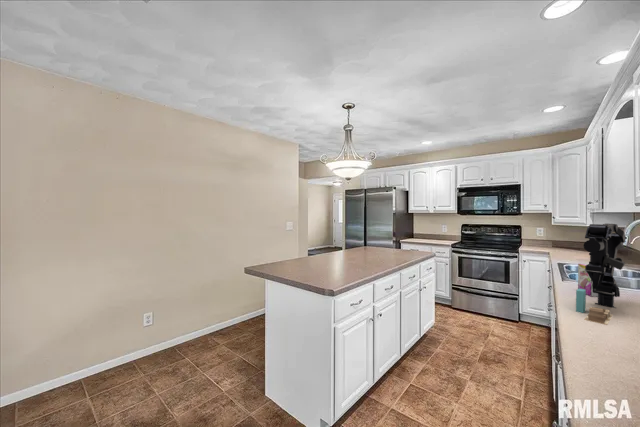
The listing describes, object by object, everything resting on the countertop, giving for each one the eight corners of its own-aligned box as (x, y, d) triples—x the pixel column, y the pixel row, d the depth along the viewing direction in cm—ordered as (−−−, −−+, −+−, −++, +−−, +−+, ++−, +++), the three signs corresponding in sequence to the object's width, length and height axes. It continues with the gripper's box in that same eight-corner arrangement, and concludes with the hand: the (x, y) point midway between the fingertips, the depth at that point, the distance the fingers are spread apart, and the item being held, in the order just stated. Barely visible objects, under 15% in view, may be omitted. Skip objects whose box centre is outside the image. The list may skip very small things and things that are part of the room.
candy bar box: (577, 291, 168) (577, 263, 168) (587, 291, 167) (587, 263, 167) (590, 296, 157) (591, 267, 157) (601, 297, 156) (601, 267, 156)
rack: (591, 312, 133) (591, 305, 133) (612, 317, 127) (612, 309, 127) (583, 322, 121) (584, 313, 121) (607, 327, 116) (607, 318, 116)
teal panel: (578, 311, 135) (578, 288, 134) (585, 313, 133) (585, 289, 132) (575, 314, 131) (576, 290, 131) (583, 315, 129) (583, 291, 129)
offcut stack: (589, 316, 125) (589, 306, 125) (605, 320, 121) (605, 310, 121) (587, 319, 122) (587, 309, 121) (603, 323, 118) (604, 312, 118)
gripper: (620, 255, 121) (619, 291, 122) (626, 251, 133) (625, 285, 133) (585, 251, 130) (584, 286, 130) (593, 248, 142) (593, 280, 142)
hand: (598, 284), depth 134 cm, fingers open, 9 cm apart
